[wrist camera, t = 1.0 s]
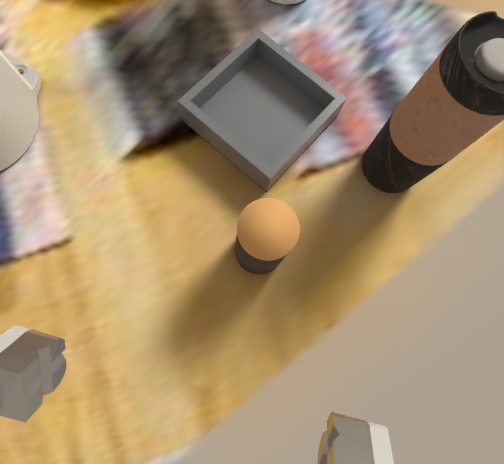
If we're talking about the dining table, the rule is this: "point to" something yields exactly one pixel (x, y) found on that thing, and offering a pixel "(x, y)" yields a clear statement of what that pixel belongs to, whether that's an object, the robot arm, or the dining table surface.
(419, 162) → the travel mug
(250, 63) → the open square box
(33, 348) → the robot arm
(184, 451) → the dining table surface
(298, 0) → the fruit juice
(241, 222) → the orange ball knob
